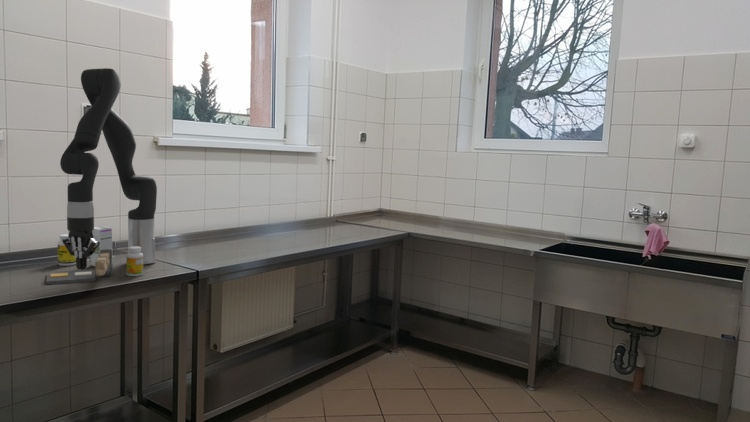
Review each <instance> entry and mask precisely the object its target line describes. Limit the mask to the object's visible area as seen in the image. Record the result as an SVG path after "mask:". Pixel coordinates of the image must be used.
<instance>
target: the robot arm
mask: <svg viewBox="0 0 750 422" xmlns="http://www.w3.org/2000/svg"><path fill="white" fill-rule="evenodd" d="M121 81H122V80H121V77H120V74H119V72H117V71H116V70H115V69H113V68H111V67H110V68H107V67H106V68H105V67H104V68H89V69H84V70H83V71H82V72H81V75H80V82H81V87H82V89H83V90H82V91H83V92H84V94H85V96H86V97H87V100H88V102H89V104H90V105H91V107H90V108H89V109H88V110H87V111H86V112H84V114H83V116H82V117H81V118H80V119H79V121H78V123H77V126H76V130H75V134H74V136H73V139H72V140H71V142H70V143H69V145H68V146H67V148H65V150H64V152H63V153H62V155H61V158H60V162H59V165H60V169H61V171H62V172H63V173H64V174H66V175H73V176H74V175H77V176H82V177H81V179H80V180H79V181H75V182H71V183H68V185H67V204H66V205H67V206H66V225H67V226H66V229H67V230H68V233H67V234H68V237H67V238H66V239H63V240H62V242H63V243H64V245H65V247H66V248H67V250H68V251H69V253H70V255H74V256H75V258H76V264H75V266H76V269H77V270H86V268H87V267H88V264H87V263H88V261H87V259H88V257H90V256H91V255H92V254H93V253H94V251H95V250H96V248H97V247H98V246H99V244H100V242H99V241H95V240H94V239H93V237H94V236H93V233H92V231H93V229H94V227H95V216H94V215H95V213H94V212H95V211H94V210H95V209H94V202H93V201H94V195H93V194H94V193H93V192H94V191H93V190H94V189H93V188H94V186H95V185H94V184H95V181H96V180H95V179H96V176H97V175H98V170H99V167H100V166H99V159H98V157H97V156H96V155H95V154H94V153H92V152H90V151H94V150H96V149H97V148H98V146H99V142H100V137H101V135H102V134H103V137H104V140H105V142H106V145H107V147H108V149H109V151H110V154H111V156H112V159H113V162H114V165H115V168H116V171H117V175H118V179H119V182H120V186H121V190H122V192H123V195H124V196H125V198H127V199H129V200H131V201H138V206H137V207H136V208H133V209H131V210H128V213H127V216H128V217H127V223H128V224H127V229H128V230H127V236H128V237H127V241H128V249H127V250H128V251H127V252H128V253H129V247H133V246H139V247H141V251H140V253H142V254H143V265H148V264H155V263H156V239H155V238H156V237H155V213H156V210H157V193H158V191H157V190H158V187H157V182H156V180H155V179H154V178H153V177H151V176H140V175H139V176H137V174H136V173H135V170H134V166H133V159H134V156H135V152H136V149H137V144H136V143H137V142H136V139H135V137H134V134H133V131H132V128H131V127H130V125H129V124H128V122H127V121H126V120H124V118H122V116H120V115H119V114H118V113H117V112H116V111H114V109H113V106H114V104H115V102H116V100H117V98H118V96H119V93H120V90H121V87H122V83H121ZM72 249H73V250H72ZM128 253H127V254H128Z"/></svg>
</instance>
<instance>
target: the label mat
mask: <svg viewBox="0 0 750 422" xmlns="http://www.w3.org/2000/svg"><path fill="white" fill-rule="evenodd" d="M85 282H87V283H88V282H96V269H95V268H93V269H82V270H81V269H77V270H74V269H73V270H57V271H47V275H46V280H45V285H56V284H57V285H58V284H71V283H85Z"/></svg>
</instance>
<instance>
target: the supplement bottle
mask: <svg viewBox="0 0 750 422" xmlns="http://www.w3.org/2000/svg"><path fill="white" fill-rule="evenodd" d="M140 251H141V247H139V246H133V247H129V253H127V254H126V275H127V276H128V277H137V276H138V277H139V276H143V275H144V264H143V254H142V253H140Z"/></svg>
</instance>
